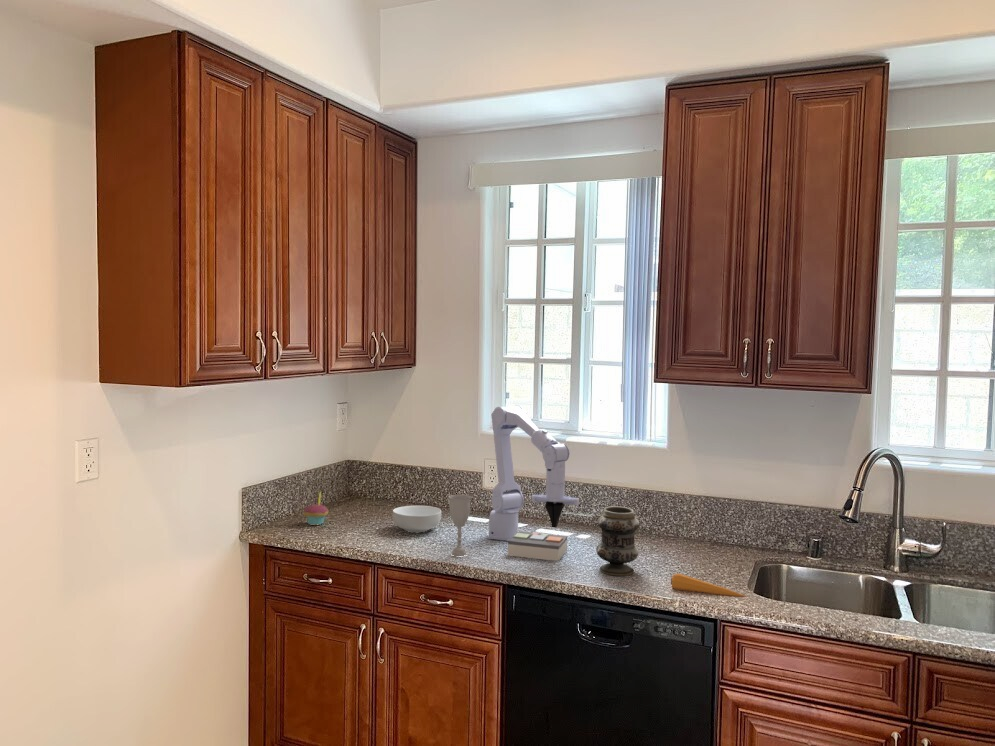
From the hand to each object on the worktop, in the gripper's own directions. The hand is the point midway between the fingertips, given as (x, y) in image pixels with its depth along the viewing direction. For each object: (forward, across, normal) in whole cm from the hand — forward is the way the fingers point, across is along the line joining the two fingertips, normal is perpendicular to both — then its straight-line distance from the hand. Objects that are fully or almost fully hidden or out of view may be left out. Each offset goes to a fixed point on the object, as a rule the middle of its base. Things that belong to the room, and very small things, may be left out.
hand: (554, 526), depth 227 cm
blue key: (+6, -5, 0) cm, 8 cm away
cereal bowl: (+9, -51, +11) cm, 53 cm away
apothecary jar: (+9, +21, -9) cm, 24 cm away
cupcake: (+9, -87, +5) cm, 88 cm away
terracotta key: (+6, 0, 0) cm, 6 cm away
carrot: (+9, +47, -19) cm, 51 cm away
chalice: (+9, -27, -11) cm, 31 cm away
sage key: (+6, -10, 0) cm, 12 cm away
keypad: (+9, -5, 0) cm, 10 cm away
